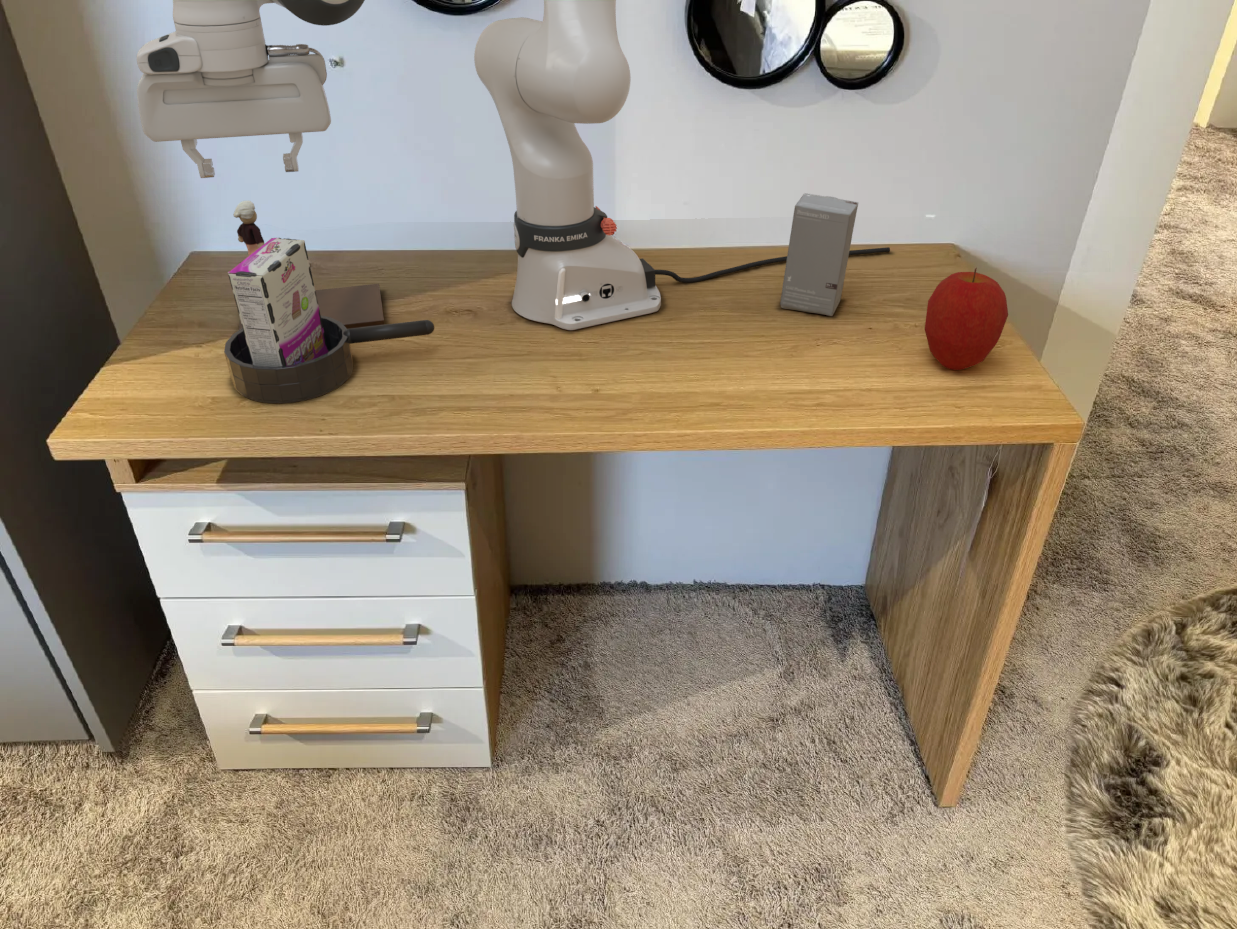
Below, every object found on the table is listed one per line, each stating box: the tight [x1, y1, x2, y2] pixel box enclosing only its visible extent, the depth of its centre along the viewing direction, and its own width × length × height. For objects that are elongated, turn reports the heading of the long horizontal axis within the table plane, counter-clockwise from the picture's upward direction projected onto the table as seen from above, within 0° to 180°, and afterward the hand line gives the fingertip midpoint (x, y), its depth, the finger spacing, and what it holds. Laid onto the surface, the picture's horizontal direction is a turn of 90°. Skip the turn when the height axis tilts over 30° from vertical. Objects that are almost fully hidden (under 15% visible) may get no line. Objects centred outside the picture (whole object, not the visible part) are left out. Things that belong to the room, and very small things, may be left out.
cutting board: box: [238, 283, 385, 331], centre depth 141 cm, size 20×13×2 cm, turn 105°
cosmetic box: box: [779, 192, 859, 317], centre depth 140 cm, size 8×7×16 cm
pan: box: [223, 316, 354, 404], centre depth 126 cm, size 15×15×5 cm
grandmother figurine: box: [233, 200, 265, 256], centre depth 149 cm, size 8×4×13 cm, turn 57°
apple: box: [924, 267, 1009, 371], centre depth 125 cm, size 10×10×14 cm
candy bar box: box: [227, 237, 329, 367], centre depth 123 cm, size 11×5×16 cm, turn 168°
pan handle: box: [343, 319, 435, 345], centre depth 128 cm, size 12×2×2 cm, turn 105°
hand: (250, 173), depth 112 cm, fingers open, 8 cm apart
